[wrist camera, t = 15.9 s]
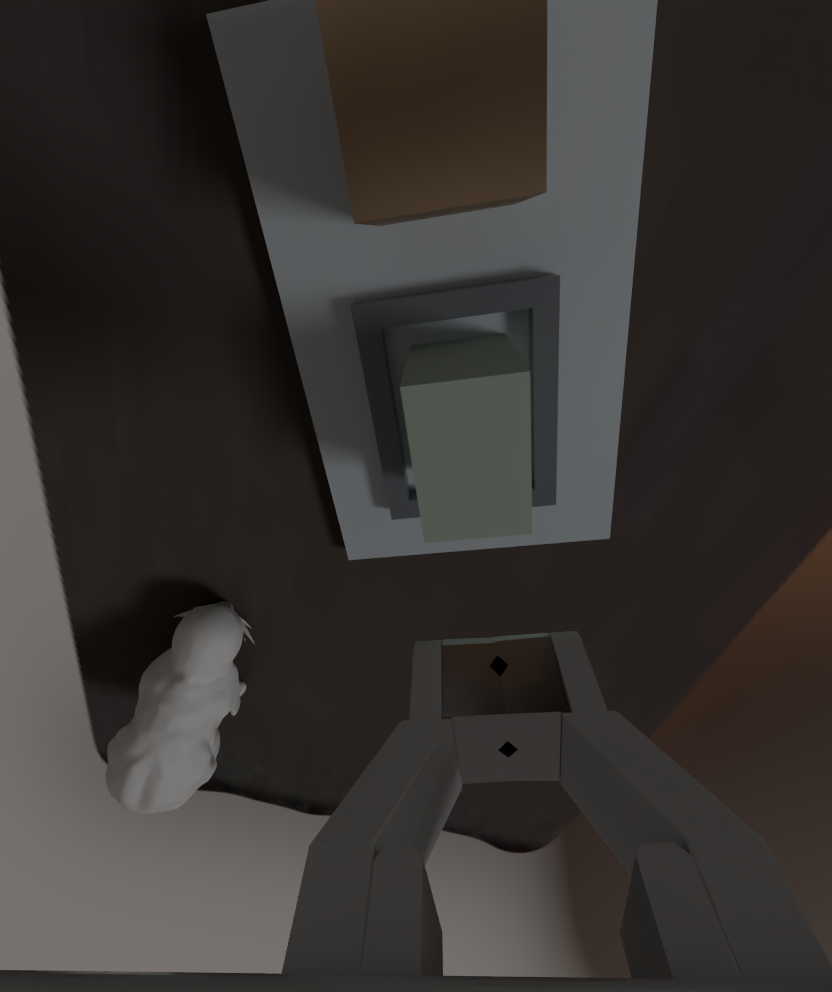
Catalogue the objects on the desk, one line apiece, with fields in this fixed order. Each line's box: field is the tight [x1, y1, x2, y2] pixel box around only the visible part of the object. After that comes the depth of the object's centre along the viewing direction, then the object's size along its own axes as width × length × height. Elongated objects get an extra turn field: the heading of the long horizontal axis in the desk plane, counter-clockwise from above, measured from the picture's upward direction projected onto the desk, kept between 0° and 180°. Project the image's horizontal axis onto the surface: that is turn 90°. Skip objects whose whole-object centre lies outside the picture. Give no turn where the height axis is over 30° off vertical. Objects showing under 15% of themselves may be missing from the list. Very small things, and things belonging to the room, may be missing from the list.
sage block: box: [400, 333, 532, 543], centre depth 18 cm, size 6×4×6 cm, turn 8°
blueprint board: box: [206, 0, 657, 560], centre depth 17 cm, size 22×14×7 cm, turn 8°
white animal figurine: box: [106, 601, 255, 814], centre depth 27 cm, size 6×8×12 cm
